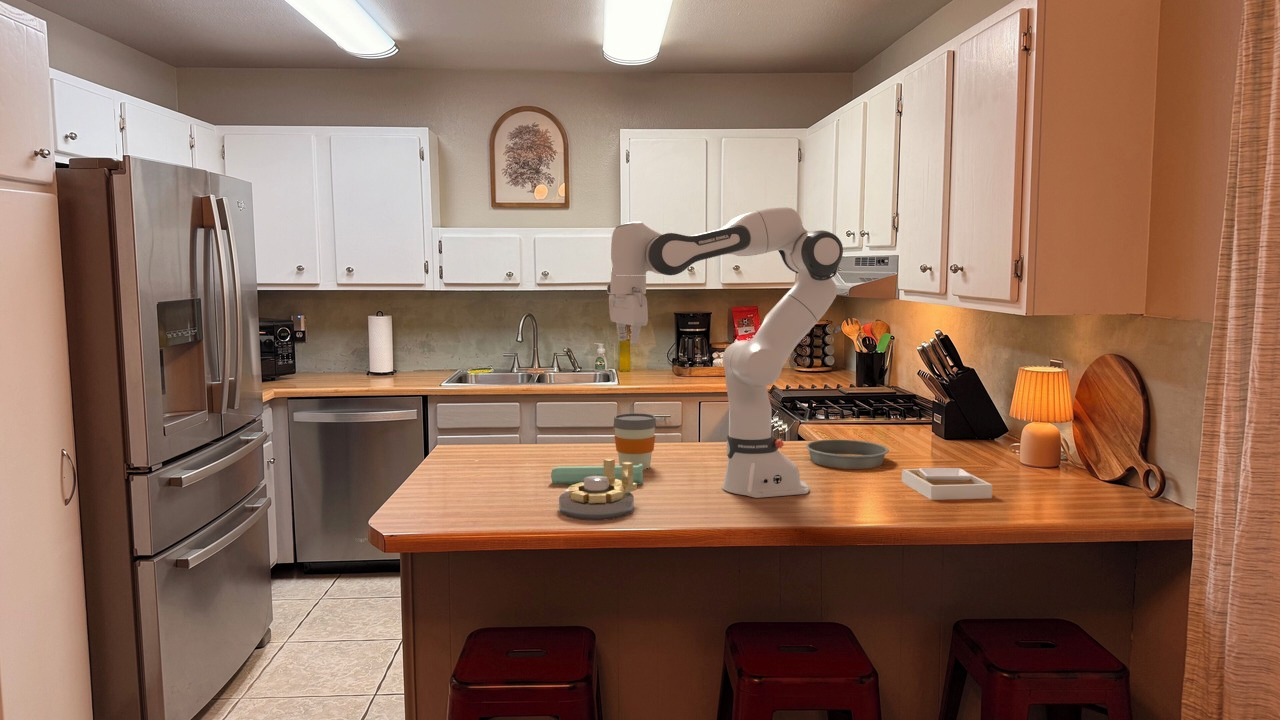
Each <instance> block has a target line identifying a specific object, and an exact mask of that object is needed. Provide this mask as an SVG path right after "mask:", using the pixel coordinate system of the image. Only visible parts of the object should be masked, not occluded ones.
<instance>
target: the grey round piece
mask: <svg viewBox="0 0 1280 720" xmlns="http://www.w3.org/2000/svg"><path fill="white" fill-rule="evenodd" d="M562 491H563V493H561V494H560V495H559V497H558V510H559V511H558V512H559V513H560V514H561V515H562V516H564V517H567V518H571V519H575V520H584V521H605V520H604V519H608V520H614V519H613V518H615V519H619V517H620V518H622V517H623V518H624V517H626V516H629V515H630V514H632V513H633V512H634V508H635V506H634V505H635V504H634V503H635V499H634V494H633V493H632V492H628V493H625V497H623V499H620V500H617V501H613V502H609V501H606V503H589V501H588V502H584V503H582V502H578V501H574V500H571V498H569V488H566V489H562ZM584 492H587V493H605V492H609V478H608V477H605V476H589V477H586V478H584ZM632 511H633V512H632ZM631 512H632V513H631ZM628 514H629V515H628Z"/></svg>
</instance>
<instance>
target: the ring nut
mask: <svg viewBox="0 0 1280 720" xmlns="http://www.w3.org/2000/svg"><path fill="white" fill-rule="evenodd" d="M603 466H604V476H605V477H608V478H609V492H605V493H587V492H584V482H581V483H577V484H570V486H568V489H569V498H571V500H574V501H578V502H582V503H584V502H588V501H589V503H606V501H609V502H613V501H617V500H620V499H623V497H625V493H628V492H630V493H632V492H635V491H637V490H638V484H637V483H633V463H631V462H624V463H622V480H618V479H615V466H616V459H614V458H605V459H603Z"/></svg>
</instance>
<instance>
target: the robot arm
mask: <svg viewBox="0 0 1280 720" xmlns="http://www.w3.org/2000/svg"><path fill="white" fill-rule="evenodd" d="M610 246H611V247H610V249H611V250H610V259H611V262H612V263H611V264H612V269H611V271H610V281H609V284H607V286H606V293H607V294H608V295H609V296H608V308H609V309H608V310H609V311H608V312H609V319H610V322H612V323H616V330H617V334H618V336H617V337H618V341H621V342H623V341H625V342H626V341H627V339H628V337H627V332H626V326H627V325H628V326H630V330H631V331H630V336H629V342H630V344H633V345H637V344H639V341H640V340H639V339H640V334H641V332H642V331H641V329H642V327H644V326H647V325H648V321H649V315H648V314H649V312H648V300H647V296H646V294H647V272H653V273H654V274H659V275H665V276H676V275H679V274H681V273H682V272H684V271H686V270H687V269H688V268H689V267H690V266H692V265H693V264H695V263H697V262H700V261H703V260H707V259H711V258H715V257H719V256H724V255H734V256H737V257H752V256H758V255H763V254H767V253H771V252H775V251H778V252H779V255H780V257H781V260H782V262H783V263H784V265H785V266H786V268H787V269H789V270H790V271H791V272H794V273H796V274H797V279H796V281H795V282H794V284H793V286H792V287H791V288H790V289H789V290H788V291H787V292H786V293H785V294H784V295H783V296H782V298H781V299H780V300H779V301H778V302H776V304H775V305H774V306H773V307H772V308H771V309H770V311H769V312H768V313H766V315H765V316H764V318H763V321H762V323H761V325H760V327H759V328H758V330H757V332H756V333H755V334H754V335H753V337H752V338H751V339H750V340H746V339H742V340H741V339H740V340H737V341H735V342H733V343H731V344H729V345H728V346H727V347H726V348H725V350H724V352H723V354H722V365H723V368H724V375H725V376H724V378H725V386H726V393H727V398H728V399H727V401H728V413H729V414H728V435H727V437H726V438H727V439H726V456H727V464H726V471H725V475H724V480H723V484H722V486H721V487H722V489H723V490H724V491H725V492H728V493H731V494H736V495H742V496H748V497H752V498H757V499H761V498H769V497H771V498H772V497H773V498H774V497H782V496H793V495H794V496H795V495H806V494H808V493H809V491H810V489H809V488H810V487H809V485H808V484H807V483H806V482H805V481H803V480H801V477H800V471H799V469H798V466H797V465H796V463H795V462H793V461H792V460H791V459H790V458H789V457H787V455H785V454H783V453H782V452H781V451H779V449H782V448H783V447H784V445H785V444H784V441H783V440H781V439H778V438H776V437H775V436H773V435H772V411H773V410H772V404H771V401H770V398H769V393H768V387H767V386H770V385H773V384H774V383H775V382H776V381H777V380H778V379H779V378H780V376H781V374H782V371H783V367H784V366H785V364H786V362H787V361H788V359H789V358H790V356H791V354H792V352H794V349H796V347H797V345H799V344H800V342H801V341H802V339H804V338H805V337H806V335H807V334H808V333H809V332H810V331H811V330H812V328H814V327H815V325H816V324H817V323H818V322H819V321H820V320H821V319H822V318H823V316H824V315H825V314H826V313H827V311H828V309H829V308H830V307H831V305H832V304H833V302H834V300H836V297H837V294H838V287H837V284H836V283H835V281H834V279H832V278H833V277H835V276H836V275H837V273H838V268H839V266H840V263H841V262H842V258H843V256H844V255H843V254H844V247H843V243H842V241H841V239H840V238H839V237H838V235H835V234H834V233H833V232H830V231H827V230H807V229H805V227H804V226H803V221H802V219H801V216H800V214H799V213H798V212H797V210H795V209H793V208H792V207H788V206H787V207H772V208H771V207H770V208H764V209H759V210H754V211H751V212H746V213H744V214H741V215H739V216H737V217H734V218H732V219H730V220H729V222H728V223H727V224H726V225H724V226H723V227H721V228H719V229H715V230H710V231H706V232H703V233H699V234H694V235H684V234H681V233H680V234H679V233H676V232H675V233H674V232H667V233H663V234H662V233H659V232H658V231H655V230H654V229H651V228H650V227H648V226H647V225H645V224H644V222H642V221H631V222H626V223H621V224H619V225H617V226H616V227H615V228H614V230H613V232H612V235H611V245H610Z"/></svg>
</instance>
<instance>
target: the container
mask: <svg viewBox="0 0 1280 720" xmlns="http://www.w3.org/2000/svg"><path fill="white" fill-rule="evenodd" d="M643 471H644V470H643V468H642V464H639V465H638V466H633V483H637V485H639V484H644V480H643V478H644V477H643V476H644V475H643V473H644V472H643ZM550 472H551V473H550V479H551V482H552V483H551V484H553V485H574V484H577V483H581V482H584V478H586V477H589V476H604V465H585V466H584V465H583V466H580V465H579V466H571V465H570V466H555V467H553V468H552V469H551V471H550ZM615 479H618V480H622V466H620V465H615Z"/></svg>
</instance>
